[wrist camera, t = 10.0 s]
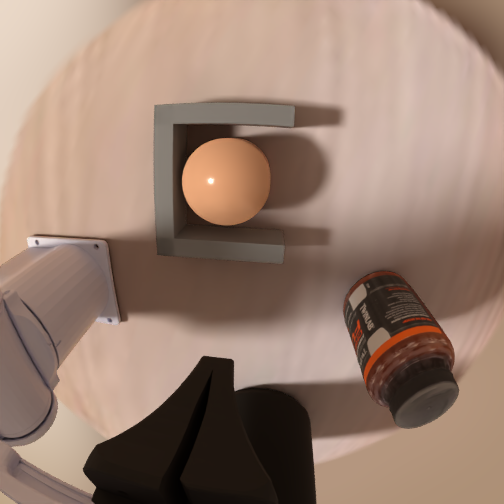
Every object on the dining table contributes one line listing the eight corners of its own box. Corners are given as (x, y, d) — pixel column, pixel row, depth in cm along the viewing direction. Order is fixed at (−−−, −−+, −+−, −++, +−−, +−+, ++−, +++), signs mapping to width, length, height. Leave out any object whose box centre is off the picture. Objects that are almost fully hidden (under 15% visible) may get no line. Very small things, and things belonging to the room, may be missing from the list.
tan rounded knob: (195, 208, 21) (182, 222, 17) (197, 136, 19) (183, 137, 16) (267, 213, 20) (267, 228, 17) (273, 140, 19) (273, 140, 15)
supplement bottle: (329, 290, 22) (364, 406, 12) (396, 254, 21) (474, 347, 10) (355, 341, 24) (389, 449, 14) (415, 310, 23) (474, 405, 12)
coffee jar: (190, 396, 28) (148, 553, 11) (286, 370, 26) (289, 564, 9) (238, 445, 31) (224, 573, 15) (321, 426, 29) (333, 569, 12)
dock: (171, 239, 22) (157, 255, 19) (170, 108, 18) (154, 105, 15) (281, 246, 21) (283, 263, 18) (291, 110, 18) (295, 105, 15)
